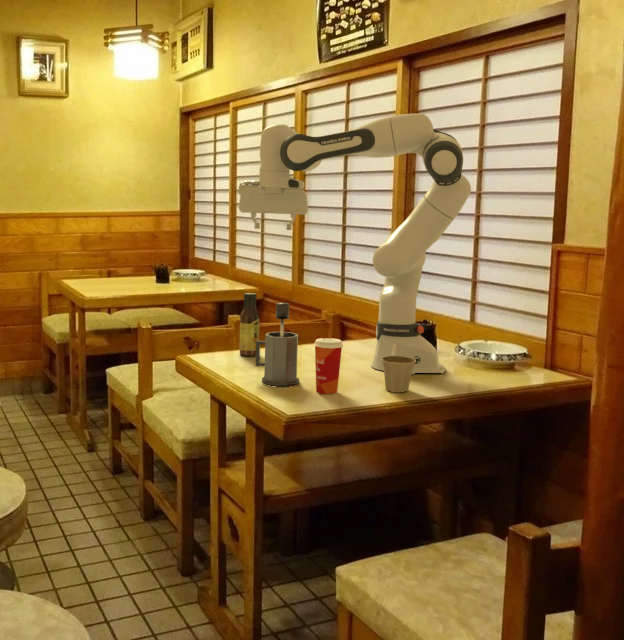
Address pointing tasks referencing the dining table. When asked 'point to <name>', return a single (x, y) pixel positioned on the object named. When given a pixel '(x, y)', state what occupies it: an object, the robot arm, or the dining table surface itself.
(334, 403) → the dining table surface
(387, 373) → the flower pot
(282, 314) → the plunger
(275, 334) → the press pot
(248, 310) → the sauce bottle
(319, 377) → the paper cup
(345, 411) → the dining table surface
